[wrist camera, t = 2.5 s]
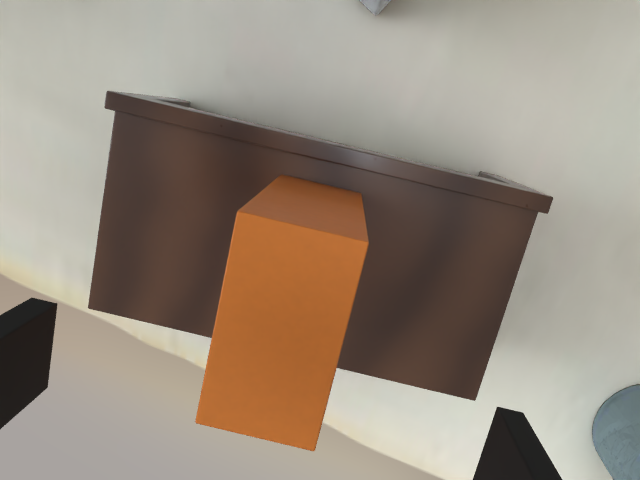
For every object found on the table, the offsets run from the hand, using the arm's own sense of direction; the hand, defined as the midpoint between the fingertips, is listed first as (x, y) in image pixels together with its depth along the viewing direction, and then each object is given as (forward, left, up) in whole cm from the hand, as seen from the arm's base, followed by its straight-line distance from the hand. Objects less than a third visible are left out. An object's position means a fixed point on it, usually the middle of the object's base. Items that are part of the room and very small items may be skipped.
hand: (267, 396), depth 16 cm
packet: (0, 0, -18) cm, 18 cm away
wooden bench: (0, 0, -28) cm, 28 cm away
